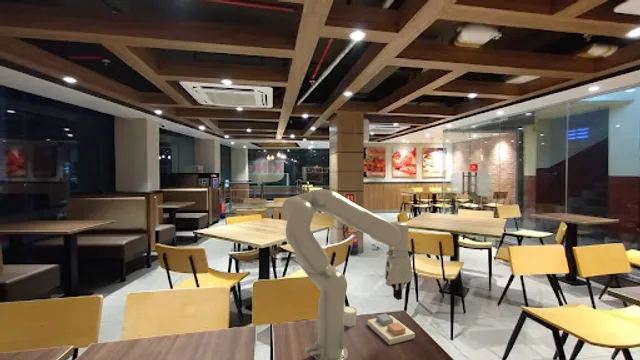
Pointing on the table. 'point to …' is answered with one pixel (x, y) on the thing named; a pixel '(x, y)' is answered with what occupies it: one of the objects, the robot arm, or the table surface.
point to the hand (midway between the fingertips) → (397, 298)
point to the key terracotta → (396, 329)
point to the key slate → (384, 319)
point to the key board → (389, 336)
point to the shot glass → (349, 316)
